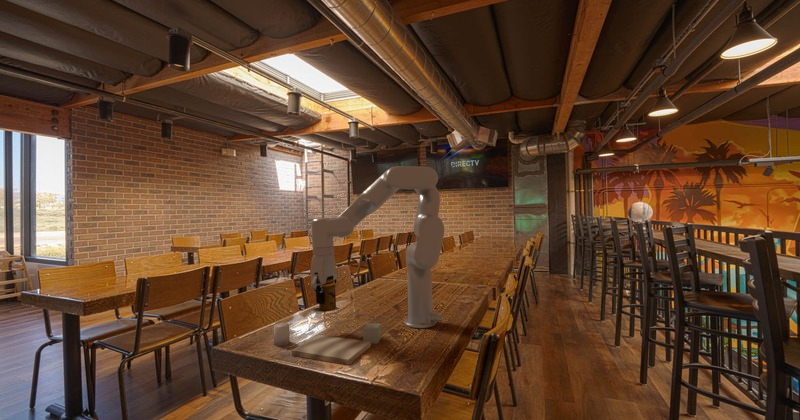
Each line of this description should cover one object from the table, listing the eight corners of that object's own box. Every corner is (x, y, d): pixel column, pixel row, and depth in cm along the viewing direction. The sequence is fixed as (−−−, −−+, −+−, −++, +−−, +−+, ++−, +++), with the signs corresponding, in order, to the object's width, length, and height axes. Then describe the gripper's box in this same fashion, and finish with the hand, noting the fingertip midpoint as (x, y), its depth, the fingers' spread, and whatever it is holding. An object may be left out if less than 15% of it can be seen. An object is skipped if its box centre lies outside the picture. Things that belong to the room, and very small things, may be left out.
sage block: (380, 338, 115) (380, 323, 115) (378, 343, 110) (377, 328, 110) (366, 337, 116) (366, 323, 116) (363, 343, 111) (363, 328, 111)
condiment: (340, 309, 121) (338, 276, 121) (317, 314, 116) (315, 279, 116) (332, 305, 127) (330, 273, 127) (310, 309, 122) (309, 277, 122)
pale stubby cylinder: (292, 341, 114) (292, 323, 114) (282, 346, 109) (282, 328, 109) (281, 339, 116) (280, 322, 116) (270, 344, 111) (270, 326, 111)
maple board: (370, 346, 108) (370, 341, 108) (348, 364, 95) (348, 359, 95) (318, 339, 115) (318, 334, 115) (291, 355, 102) (291, 350, 102)
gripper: (328, 249, 131) (330, 294, 131) (299, 255, 115) (302, 307, 115) (344, 248, 129) (347, 295, 128) (317, 255, 113) (320, 308, 112)
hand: (326, 300), depth 122 cm, fingers closed on condiment, 6 cm apart
